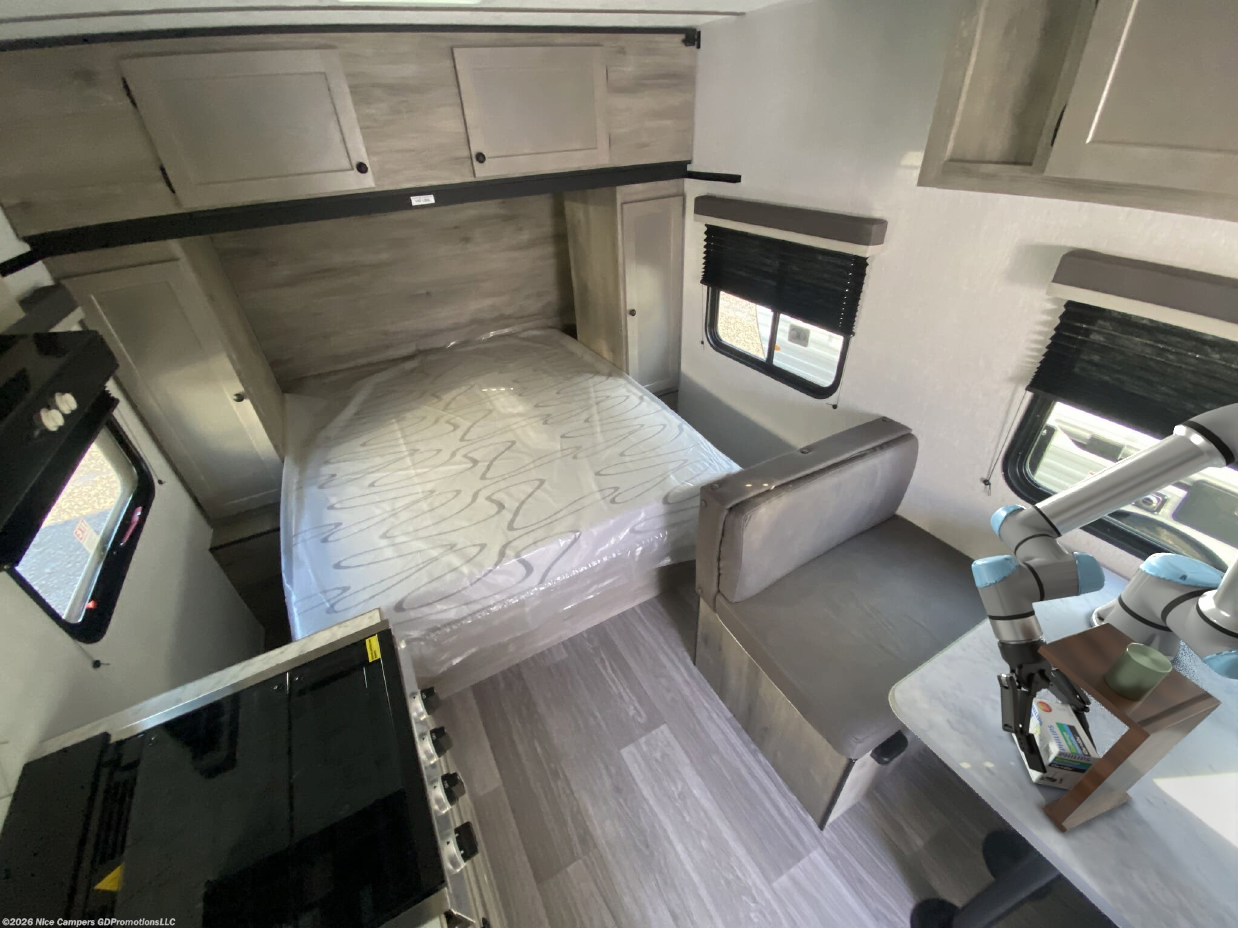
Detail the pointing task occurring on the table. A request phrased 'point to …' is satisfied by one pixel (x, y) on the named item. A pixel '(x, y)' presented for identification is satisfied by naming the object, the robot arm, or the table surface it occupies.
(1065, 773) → the light bulb box
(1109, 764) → the shelf stand
